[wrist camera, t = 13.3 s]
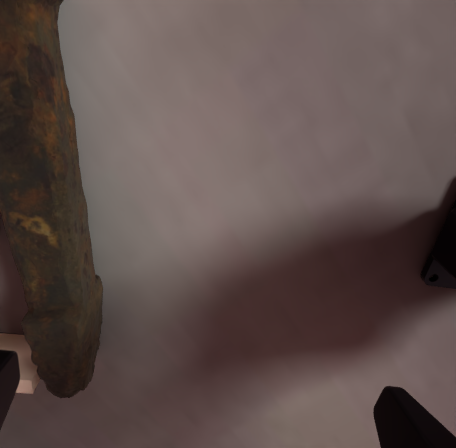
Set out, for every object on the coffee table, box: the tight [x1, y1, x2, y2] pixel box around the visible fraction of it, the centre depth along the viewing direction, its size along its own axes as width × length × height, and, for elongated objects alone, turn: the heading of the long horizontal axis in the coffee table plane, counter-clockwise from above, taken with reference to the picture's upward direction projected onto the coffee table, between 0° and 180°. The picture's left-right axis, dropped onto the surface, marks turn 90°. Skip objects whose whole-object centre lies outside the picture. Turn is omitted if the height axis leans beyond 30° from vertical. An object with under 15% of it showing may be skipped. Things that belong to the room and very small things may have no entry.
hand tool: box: [0, 0, 103, 398], centre depth 16 cm, size 19×4×5 cm, turn 177°
